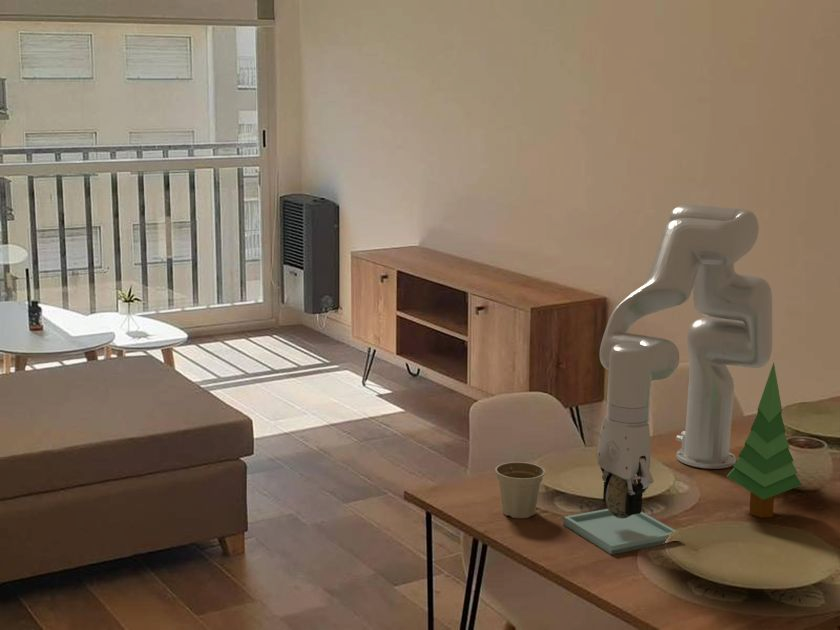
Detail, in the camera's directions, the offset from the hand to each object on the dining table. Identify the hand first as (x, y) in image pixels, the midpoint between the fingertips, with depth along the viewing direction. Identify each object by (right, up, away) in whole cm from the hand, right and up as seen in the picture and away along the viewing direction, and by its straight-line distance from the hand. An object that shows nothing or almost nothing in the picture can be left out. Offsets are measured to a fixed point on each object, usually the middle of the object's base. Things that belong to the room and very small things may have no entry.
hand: (621, 506), depth 215 cm
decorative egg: (0, -2, +1) cm, 2 cm away
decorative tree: (+29, -3, +12) cm, 32 cm away
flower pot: (-18, -3, +10) cm, 21 cm away
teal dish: (0, -5, +1) cm, 5 cm away
